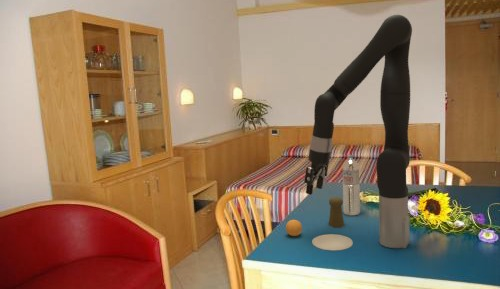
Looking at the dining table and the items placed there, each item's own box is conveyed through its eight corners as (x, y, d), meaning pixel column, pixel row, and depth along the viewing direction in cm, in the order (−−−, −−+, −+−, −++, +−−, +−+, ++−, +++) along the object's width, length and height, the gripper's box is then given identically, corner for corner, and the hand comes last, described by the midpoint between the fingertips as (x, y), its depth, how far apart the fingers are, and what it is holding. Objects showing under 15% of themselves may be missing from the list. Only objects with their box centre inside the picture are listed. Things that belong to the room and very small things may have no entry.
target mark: (358, 238, 144) (358, 238, 144) (344, 253, 132) (344, 253, 132) (321, 232, 151) (321, 231, 151) (305, 246, 140) (305, 245, 140)
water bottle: (363, 214, 168) (362, 155, 164) (349, 217, 166) (348, 157, 162) (353, 209, 175) (352, 153, 171) (340, 212, 172) (338, 155, 168)
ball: (304, 234, 151) (304, 218, 150) (297, 239, 146) (297, 223, 145) (290, 231, 154) (290, 216, 153) (283, 237, 149) (282, 221, 148)
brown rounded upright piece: (344, 227, 155) (343, 200, 153) (328, 227, 156) (327, 200, 154) (344, 222, 161) (343, 195, 159) (328, 221, 162) (327, 195, 160)
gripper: (321, 154, 135) (314, 199, 140) (338, 147, 147) (331, 189, 151) (301, 149, 139) (295, 192, 143) (319, 143, 151) (313, 183, 155)
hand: (314, 190), depth 147 cm, fingers open, 8 cm apart
